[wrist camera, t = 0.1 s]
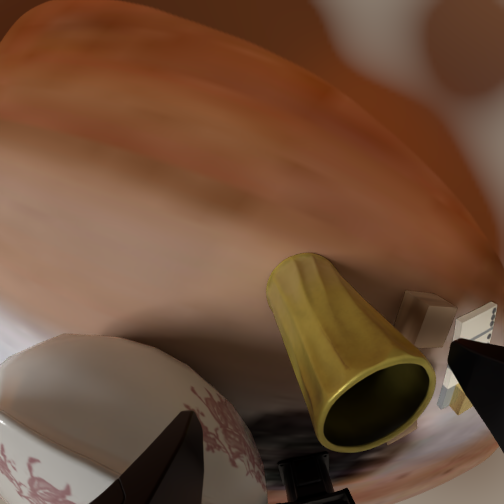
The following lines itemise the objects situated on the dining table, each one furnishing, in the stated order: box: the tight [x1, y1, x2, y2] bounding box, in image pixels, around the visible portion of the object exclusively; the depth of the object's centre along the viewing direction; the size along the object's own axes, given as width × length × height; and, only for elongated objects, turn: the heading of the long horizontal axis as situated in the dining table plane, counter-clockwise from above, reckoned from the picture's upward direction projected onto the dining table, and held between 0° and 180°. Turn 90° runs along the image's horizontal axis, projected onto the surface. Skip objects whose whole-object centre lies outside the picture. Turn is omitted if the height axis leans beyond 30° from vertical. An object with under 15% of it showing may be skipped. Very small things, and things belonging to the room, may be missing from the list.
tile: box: [449, 383, 473, 415], centre depth 24 cm, size 4×4×2 cm
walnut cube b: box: [394, 290, 457, 348], centre depth 22 cm, size 4×4×4 cm
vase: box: [266, 253, 436, 453], centre depth 15 cm, size 6×6×14 cm
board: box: [437, 302, 497, 409], centre depth 25 cm, size 14×7×1 cm, turn 10°
